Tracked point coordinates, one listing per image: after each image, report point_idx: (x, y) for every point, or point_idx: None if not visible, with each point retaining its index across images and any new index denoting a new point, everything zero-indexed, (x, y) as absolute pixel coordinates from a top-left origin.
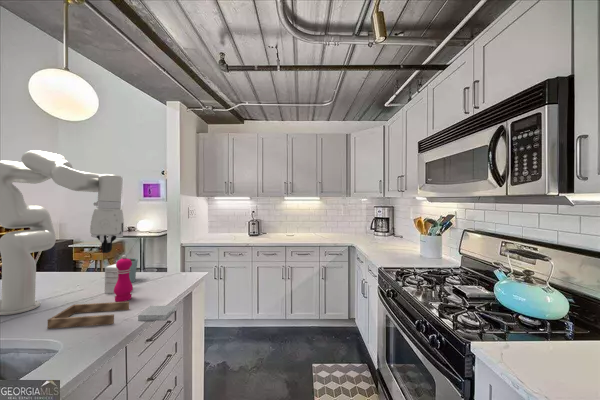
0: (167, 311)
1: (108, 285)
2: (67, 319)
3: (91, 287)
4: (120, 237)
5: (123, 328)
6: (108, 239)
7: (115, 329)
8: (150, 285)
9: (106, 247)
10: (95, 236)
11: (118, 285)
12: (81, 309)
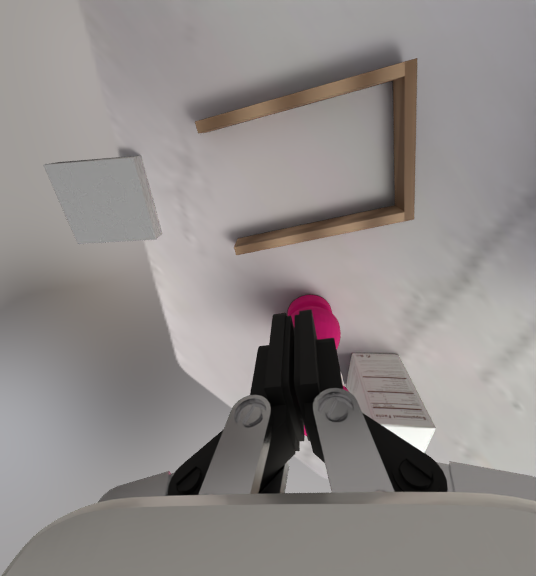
0: (63, 195)
1: (394, 371)
2: (345, 79)
3: (466, 391)
4: (119, 488)
5: (138, 87)
6: (251, 436)
7: (158, 76)
8: None
9: (272, 346)
10: (475, 486)
11: (318, 328)
12: (376, 212)
